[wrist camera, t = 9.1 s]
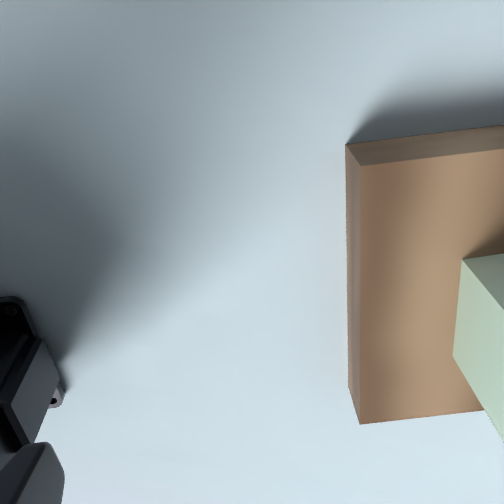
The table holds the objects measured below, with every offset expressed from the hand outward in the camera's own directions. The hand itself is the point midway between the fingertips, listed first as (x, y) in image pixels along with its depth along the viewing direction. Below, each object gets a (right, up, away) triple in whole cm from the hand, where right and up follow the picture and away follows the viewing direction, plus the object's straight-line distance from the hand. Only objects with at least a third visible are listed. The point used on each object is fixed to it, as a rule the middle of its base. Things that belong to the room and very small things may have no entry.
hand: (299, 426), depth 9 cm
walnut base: (+10, +3, +14) cm, 17 cm away
